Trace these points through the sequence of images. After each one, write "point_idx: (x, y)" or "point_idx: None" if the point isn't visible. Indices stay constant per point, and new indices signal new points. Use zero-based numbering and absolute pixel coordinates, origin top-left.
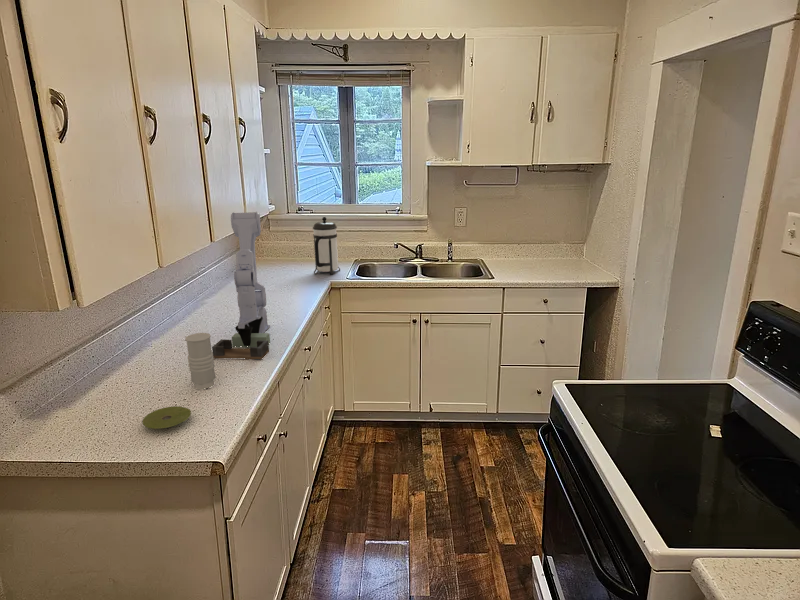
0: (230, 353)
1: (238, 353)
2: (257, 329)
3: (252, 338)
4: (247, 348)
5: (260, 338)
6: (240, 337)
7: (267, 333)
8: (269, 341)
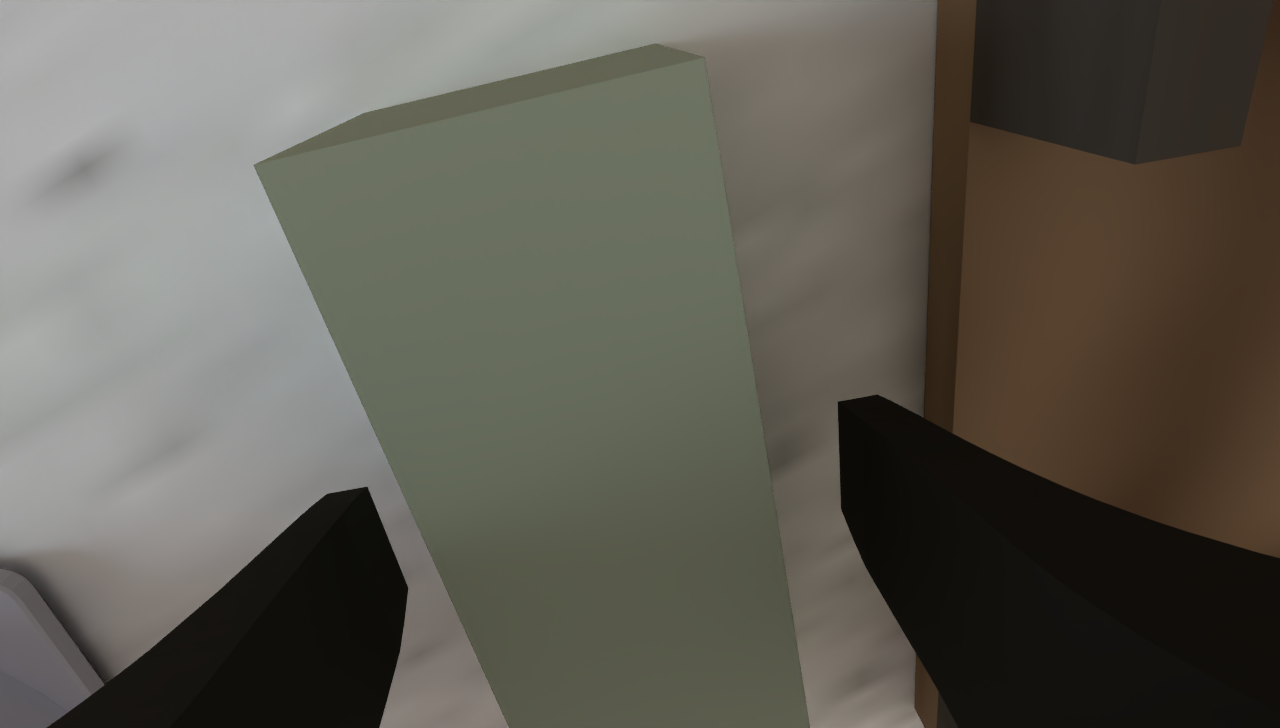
0: (1206, 522)
1: (1229, 396)
2: (272, 651)
3: (760, 473)
4: (961, 376)
5: (730, 257)
6: (804, 718)
7: (310, 224)
8: (397, 110)
